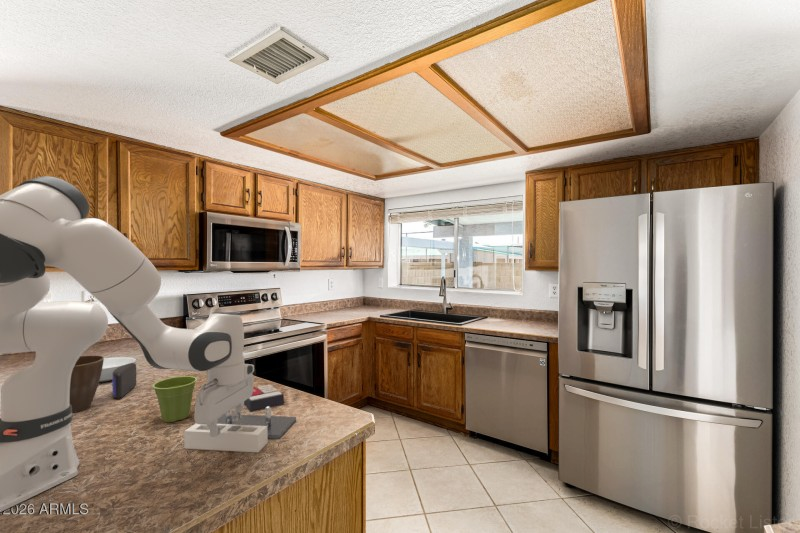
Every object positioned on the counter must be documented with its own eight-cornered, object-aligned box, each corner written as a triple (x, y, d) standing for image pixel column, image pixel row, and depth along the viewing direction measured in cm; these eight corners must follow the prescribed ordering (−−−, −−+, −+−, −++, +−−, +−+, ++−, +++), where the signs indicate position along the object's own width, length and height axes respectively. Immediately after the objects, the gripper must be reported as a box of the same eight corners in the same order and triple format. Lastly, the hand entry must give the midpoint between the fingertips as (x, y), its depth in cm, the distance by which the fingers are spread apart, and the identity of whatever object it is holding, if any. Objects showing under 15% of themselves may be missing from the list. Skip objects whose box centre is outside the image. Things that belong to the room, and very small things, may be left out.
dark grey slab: (123, 386, 144) (123, 362, 144) (137, 385, 146) (137, 361, 146) (105, 401, 129) (105, 374, 129) (121, 399, 130) (121, 373, 130)
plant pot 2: (158, 413, 118) (158, 378, 118) (200, 408, 122) (199, 374, 122) (147, 429, 107) (147, 390, 107) (194, 422, 111) (193, 385, 111)
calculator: (270, 383, 137) (284, 392, 125) (271, 394, 137) (284, 405, 125) (239, 389, 131) (250, 399, 119) (239, 401, 131) (250, 412, 119)
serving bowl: (127, 383, 149) (127, 366, 149) (61, 390, 141) (61, 372, 141) (142, 369, 168) (142, 354, 168) (85, 375, 160) (84, 359, 160)
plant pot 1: (111, 407, 123) (111, 359, 123) (51, 422, 111) (51, 369, 111) (95, 398, 132) (94, 353, 132) (38, 412, 120) (37, 362, 119)
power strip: (258, 452, 93) (258, 433, 93) (184, 448, 95) (184, 430, 95) (267, 442, 98) (267, 425, 98) (197, 439, 100) (197, 422, 100)
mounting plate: (278, 438, 100) (278, 415, 100) (196, 434, 103) (196, 412, 103) (296, 420, 112) (296, 399, 112) (221, 417, 115) (221, 396, 115)
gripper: (211, 387, 85) (212, 447, 85) (257, 364, 105) (257, 412, 105) (186, 386, 86) (187, 445, 86) (236, 363, 106) (237, 411, 106)
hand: (226, 427), depth 96 cm, fingers open, 8 cm apart
